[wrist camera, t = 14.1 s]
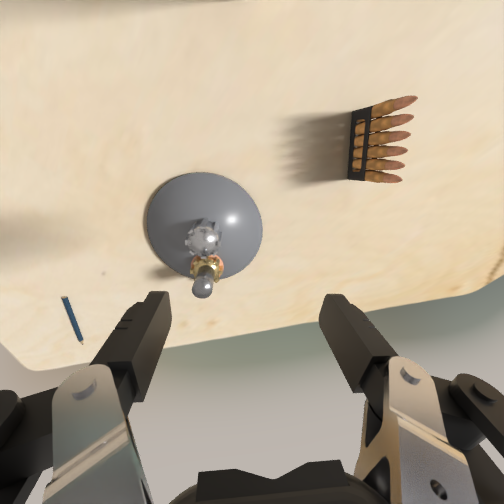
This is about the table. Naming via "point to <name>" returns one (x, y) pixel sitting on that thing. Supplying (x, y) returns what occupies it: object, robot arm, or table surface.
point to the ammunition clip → (377, 141)
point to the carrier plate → (204, 223)
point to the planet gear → (205, 275)
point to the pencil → (72, 319)
